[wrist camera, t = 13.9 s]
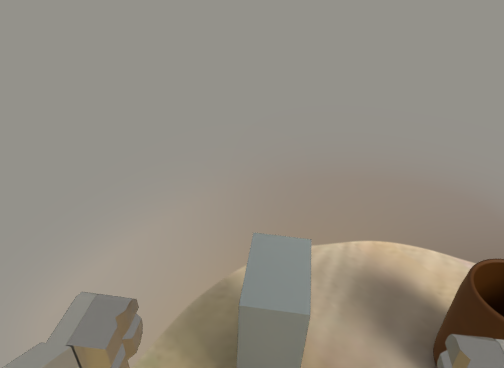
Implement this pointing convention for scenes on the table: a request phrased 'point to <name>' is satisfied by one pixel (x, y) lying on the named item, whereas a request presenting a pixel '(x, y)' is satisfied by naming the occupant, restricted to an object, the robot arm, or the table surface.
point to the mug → (476, 305)
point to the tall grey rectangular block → (275, 303)
